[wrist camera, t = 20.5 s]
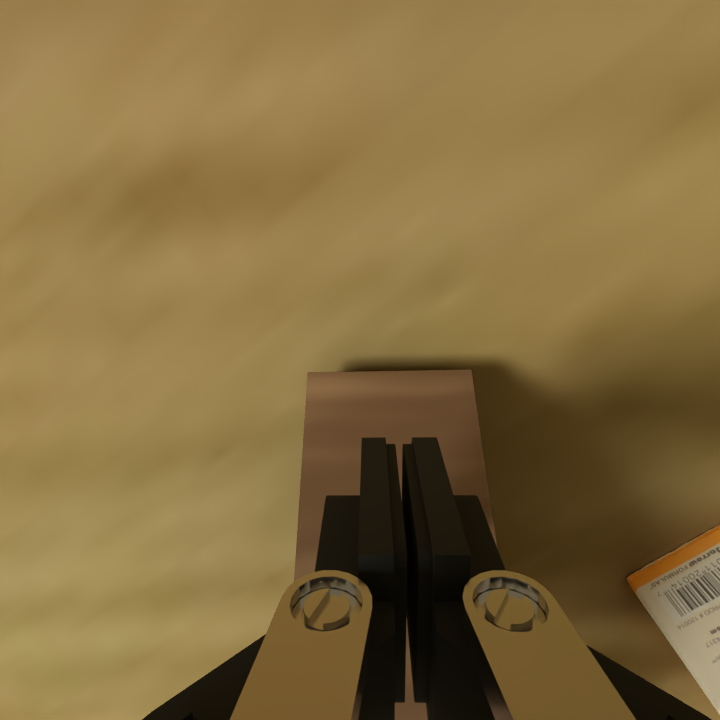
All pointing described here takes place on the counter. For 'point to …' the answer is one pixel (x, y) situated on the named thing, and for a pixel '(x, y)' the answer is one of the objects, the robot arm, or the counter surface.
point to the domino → (398, 424)
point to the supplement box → (688, 605)
